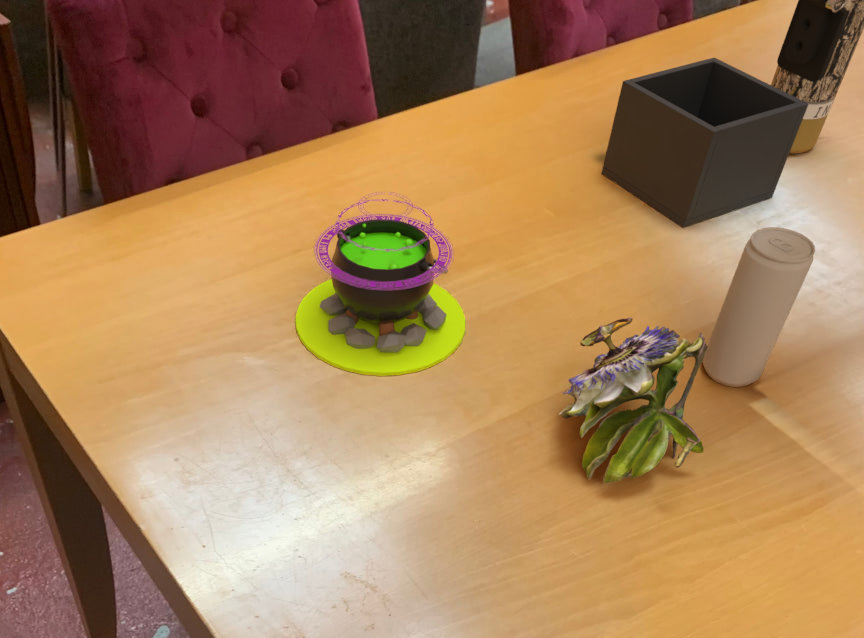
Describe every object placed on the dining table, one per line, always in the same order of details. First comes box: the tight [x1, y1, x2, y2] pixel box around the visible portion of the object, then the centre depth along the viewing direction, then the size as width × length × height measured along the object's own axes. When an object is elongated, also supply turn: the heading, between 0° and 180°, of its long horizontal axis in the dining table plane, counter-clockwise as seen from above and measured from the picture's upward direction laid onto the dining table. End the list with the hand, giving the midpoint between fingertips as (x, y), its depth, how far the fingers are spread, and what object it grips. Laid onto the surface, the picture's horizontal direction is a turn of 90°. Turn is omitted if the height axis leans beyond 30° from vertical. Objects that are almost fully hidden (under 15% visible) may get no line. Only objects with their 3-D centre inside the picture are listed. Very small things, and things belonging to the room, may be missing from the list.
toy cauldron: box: [294, 191, 466, 377], centre depth 74 cm, size 15×15×11 cm
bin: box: [601, 57, 808, 228], centre depth 91 cm, size 13×13×10 cm
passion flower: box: [558, 316, 708, 484], centre depth 66 cm, size 11×11×12 cm
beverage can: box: [702, 226, 816, 388], centre depth 70 cm, size 5×5×12 cm
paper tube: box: [770, 0, 864, 155], centre depth 93 cm, size 7×7×25 cm
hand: (850, 58), depth 57 cm, fingers open, 9 cm apart
